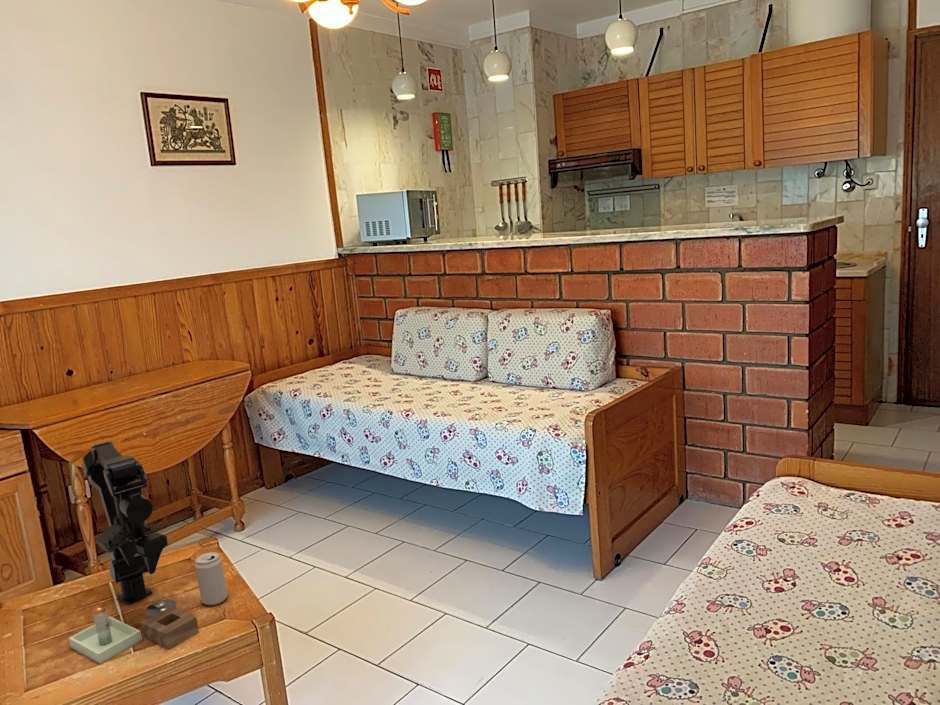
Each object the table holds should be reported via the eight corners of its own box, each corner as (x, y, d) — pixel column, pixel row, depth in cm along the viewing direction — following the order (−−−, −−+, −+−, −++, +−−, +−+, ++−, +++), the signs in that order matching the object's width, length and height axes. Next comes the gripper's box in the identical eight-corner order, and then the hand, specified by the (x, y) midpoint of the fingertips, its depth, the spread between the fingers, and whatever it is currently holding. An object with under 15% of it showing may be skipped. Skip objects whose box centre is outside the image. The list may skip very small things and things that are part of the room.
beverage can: (219, 607, 187) (212, 563, 184) (196, 606, 188) (189, 563, 186) (232, 594, 193) (225, 551, 190) (210, 593, 194) (202, 551, 192)
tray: (70, 647, 175) (68, 638, 174) (112, 625, 183) (110, 616, 182) (100, 664, 167) (98, 654, 167) (142, 640, 175) (140, 630, 175)
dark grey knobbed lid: (141, 618, 185) (139, 607, 184) (167, 605, 190) (165, 593, 189) (157, 626, 181) (155, 614, 180) (183, 612, 186) (181, 600, 185)
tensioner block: (144, 637, 176) (141, 622, 175) (174, 620, 182) (171, 605, 182) (168, 649, 170) (165, 634, 170) (198, 631, 177) (196, 616, 176)
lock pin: (97, 643, 175) (89, 608, 173) (108, 637, 177) (101, 602, 175) (103, 646, 173) (95, 611, 171) (114, 640, 175) (107, 605, 173)
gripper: (77, 516, 178) (89, 576, 181) (119, 531, 167) (131, 594, 170) (121, 498, 187) (132, 556, 190) (163, 512, 176) (174, 572, 179)
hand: (141, 569), depth 182 cm, fingers open, 9 cm apart
